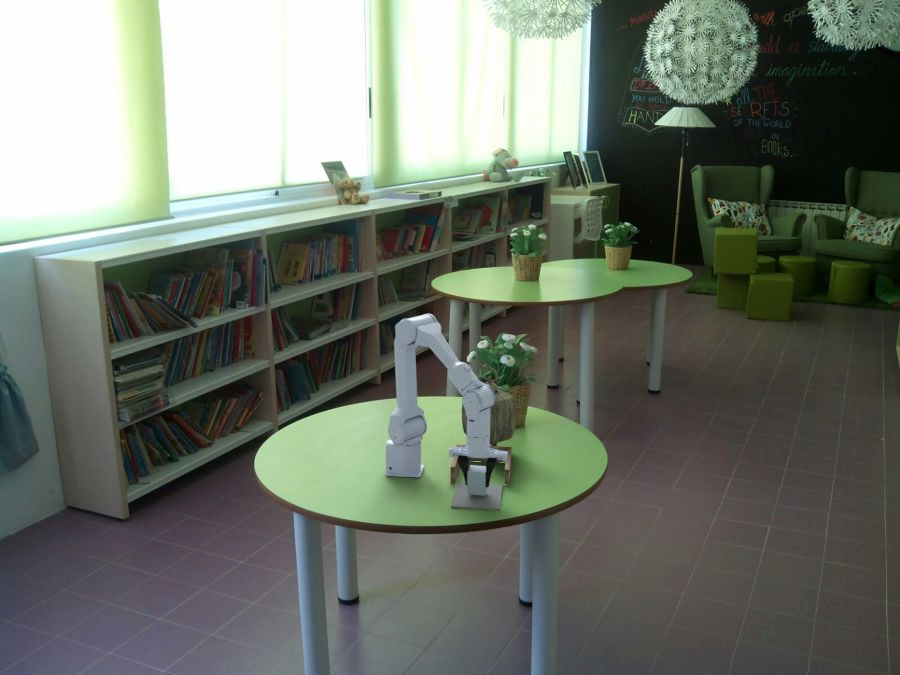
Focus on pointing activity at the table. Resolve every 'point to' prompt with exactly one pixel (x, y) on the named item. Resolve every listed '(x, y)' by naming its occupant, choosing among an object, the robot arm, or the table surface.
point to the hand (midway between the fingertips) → (477, 484)
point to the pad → (477, 498)
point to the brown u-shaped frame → (507, 465)
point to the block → (476, 480)
